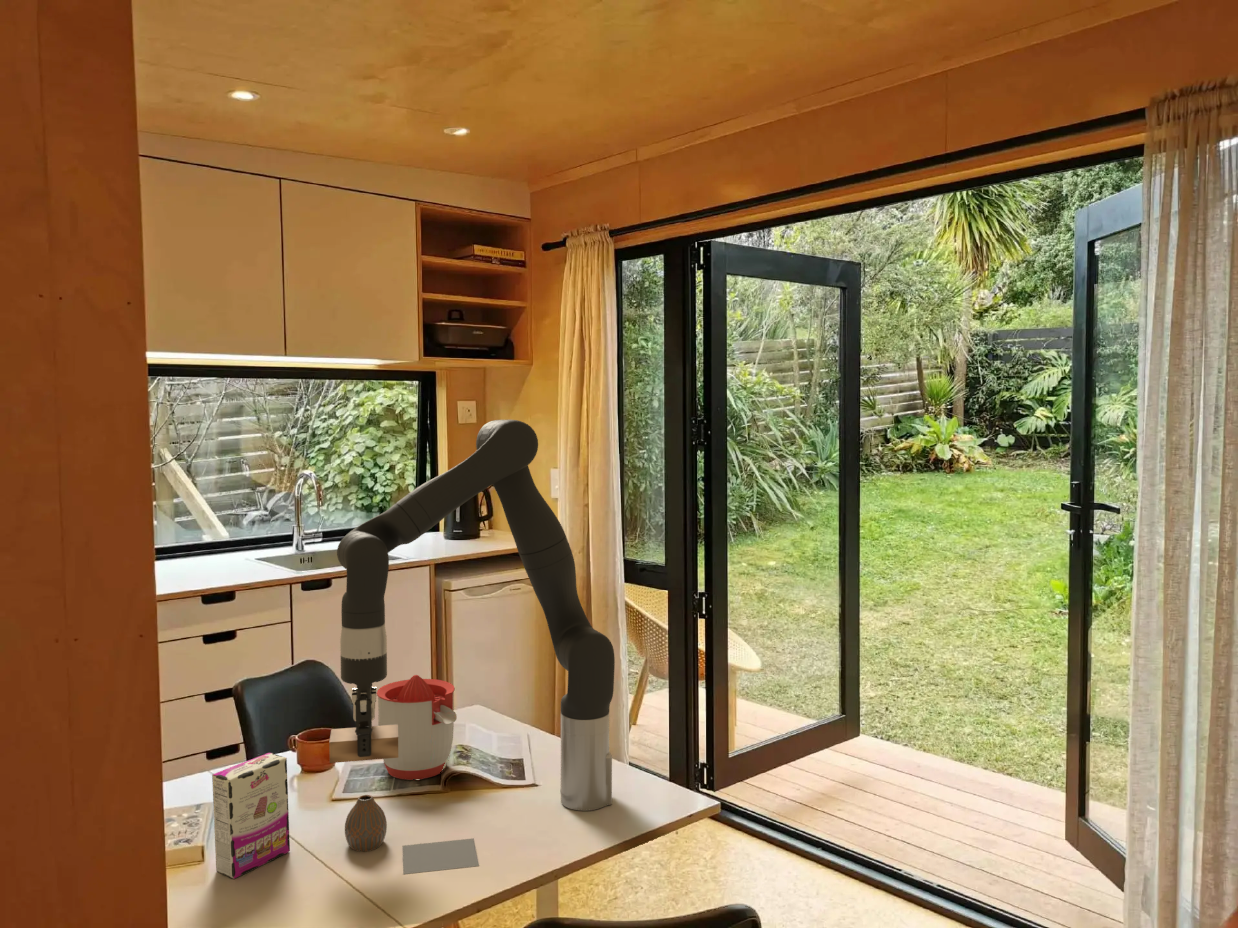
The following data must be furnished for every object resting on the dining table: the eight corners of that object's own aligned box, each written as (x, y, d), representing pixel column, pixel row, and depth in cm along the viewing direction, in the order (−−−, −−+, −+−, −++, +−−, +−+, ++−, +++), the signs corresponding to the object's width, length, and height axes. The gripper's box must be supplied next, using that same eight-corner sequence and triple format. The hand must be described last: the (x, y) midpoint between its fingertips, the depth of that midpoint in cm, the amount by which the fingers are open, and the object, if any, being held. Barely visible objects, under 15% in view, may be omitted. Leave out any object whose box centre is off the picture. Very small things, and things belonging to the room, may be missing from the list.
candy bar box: (271, 844, 163) (269, 750, 162) (290, 852, 160) (289, 756, 159) (213, 872, 153) (210, 772, 152) (232, 880, 151) (230, 779, 150)
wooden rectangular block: (397, 744, 165) (397, 724, 165) (398, 757, 159) (398, 736, 159) (331, 749, 163) (331, 729, 162) (329, 762, 156) (329, 742, 156)
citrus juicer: (425, 793, 184) (424, 692, 183) (361, 774, 193) (359, 678, 192) (477, 767, 198) (477, 672, 196) (415, 751, 207) (414, 660, 205)
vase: (375, 858, 158) (375, 807, 157) (337, 854, 159) (336, 803, 159) (393, 840, 165) (393, 790, 164) (356, 836, 166) (356, 787, 166)
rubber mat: (473, 841, 164) (473, 838, 164) (479, 869, 155) (479, 865, 155) (402, 848, 162) (402, 845, 161) (403, 877, 152) (403, 873, 152)
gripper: (386, 661, 154) (387, 762, 155) (386, 639, 168) (387, 732, 169) (338, 663, 152) (339, 766, 153) (342, 641, 166) (343, 735, 167)
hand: (364, 748), depth 161 cm, fingers closed on wooden rectangular block, 6 cm apart
